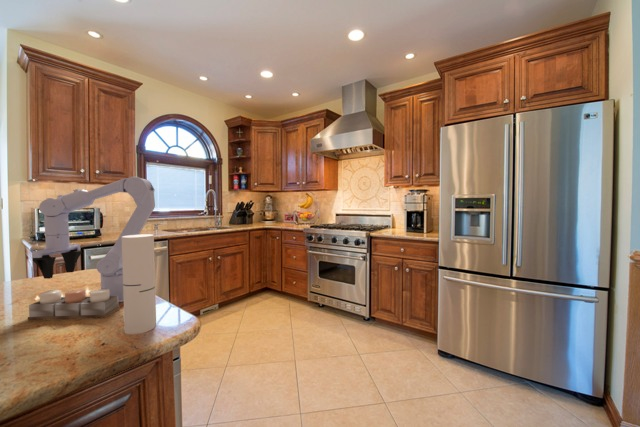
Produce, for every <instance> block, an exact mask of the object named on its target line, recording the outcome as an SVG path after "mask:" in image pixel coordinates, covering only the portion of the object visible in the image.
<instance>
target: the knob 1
mask: <svg viewBox="0 0 640 427" xmlns="http://www.w3.org/2000/svg"><path fill="white" fill-rule="evenodd" d="M61 297H62V290H60V289H54V290H47V291H43V292H41V293H39V301H40V304H53V303H56V302H58V301H60V300H61Z"/></svg>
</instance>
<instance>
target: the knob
mask: <svg viewBox="0 0 640 427" xmlns="http://www.w3.org/2000/svg"><path fill="white" fill-rule="evenodd" d="M89 296H90V303H98V302H105V301H107V300H109V299H110V292H109V289H101V288H100V289H95V290H92V291H90V292H89Z"/></svg>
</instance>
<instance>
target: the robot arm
mask: <svg viewBox="0 0 640 427" xmlns="http://www.w3.org/2000/svg"><path fill="white" fill-rule="evenodd" d="M118 193H127V194H128V195H129V196H130V197H132V199H133V201H134V202H135V204H136V207H135V209H134V211H133V212H132V214H131V216H130V218H129V219H128V221H127V223H126V224H125V226H124V228H123V229H122V231H121V233H120V234H119V237H118V238H117V240H116V241H115V243H114V245H113V246H112V247H111V248H110V250H108V252H107V253H106V254H105V255H104V257H102V258H101V259H99V260H98V262H97V263H96V270H97V272H98V273H100V289H109V292H110V296H118V303H122V302H123V303H124V297H123V266H122V236H128V235H140V234H141V231H143V228H144V227H145V225H146V224H147V221H148V220H149V218H150V217H151V215H152V213H153V211H154V209H155V208H156V201H155V188H154V185H153V184H152V182H151V181H150V180H148V179H146V178H141V177H139V176H129V177H128V178H121V179H119V180H116V181H113V182H110V183H108V184H104V185H102V186H100V187H97V188H94V189H90V190H85V189H79V188H76V189H73V192H70V193H67V194H64V195H63V194H59V195H57V198H54V197H53V198H52V197H49V198H46V199H43V201H41V202H40V203H39V206H38V207H39V209H38V210H39V211H40V213H41V214H43V215H44V218H43V219H44V236H45V247H44V248H43V249H38V250H35V251H32V261H33V262H34V263H35V265H36V266H37V267H38V268H39V270H40V272H41V275H42V276H43V279H53V276H54V264H55V261H56V258H57V257H56V256H53V255H58V254H61V256H62V259H63V262H64V268H65V269H64V270H65V272H66V273H74V272H75V269H76V265H77V262H78V260H79V258H80V256H81V255H82V250H81V244H71V243H70V226H69V215H70V213H72V212H75V211H77V210H80V209H83V208H86V207H87V208H88V207H89V206H91V205H93V204H94V202H95V200H98V199H100V198H101V199H102V198H104V197H108V196H112V195H115V194H118Z"/></svg>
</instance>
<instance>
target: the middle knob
mask: <svg viewBox="0 0 640 427" xmlns="http://www.w3.org/2000/svg"><path fill="white" fill-rule="evenodd" d="M86 294H87V293H86V289H74V290H70V291H66V292H65V293H64V297H65V303H79V302H81V301H84V300H86V296H87V295H86Z"/></svg>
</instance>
